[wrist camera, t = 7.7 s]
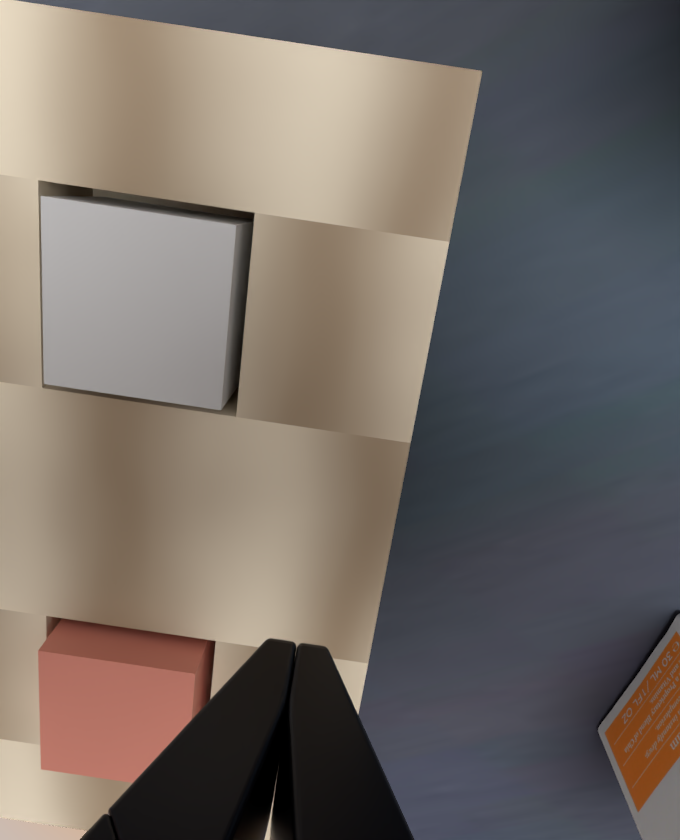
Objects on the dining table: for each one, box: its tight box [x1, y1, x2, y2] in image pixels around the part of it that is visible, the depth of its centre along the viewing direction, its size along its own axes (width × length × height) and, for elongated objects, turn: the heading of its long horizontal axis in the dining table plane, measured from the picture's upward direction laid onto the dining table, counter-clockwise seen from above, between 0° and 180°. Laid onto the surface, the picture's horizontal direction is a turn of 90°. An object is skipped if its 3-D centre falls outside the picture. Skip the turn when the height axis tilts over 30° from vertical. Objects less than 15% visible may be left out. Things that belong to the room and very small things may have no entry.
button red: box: [38, 618, 216, 783], centre depth 20 cm, size 4×4×4 cm
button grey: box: [41, 196, 254, 410], centre depth 16 cm, size 4×4×4 cm
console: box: [0, 0, 482, 840], centre depth 19 cm, size 14×24×4 cm, turn 172°
